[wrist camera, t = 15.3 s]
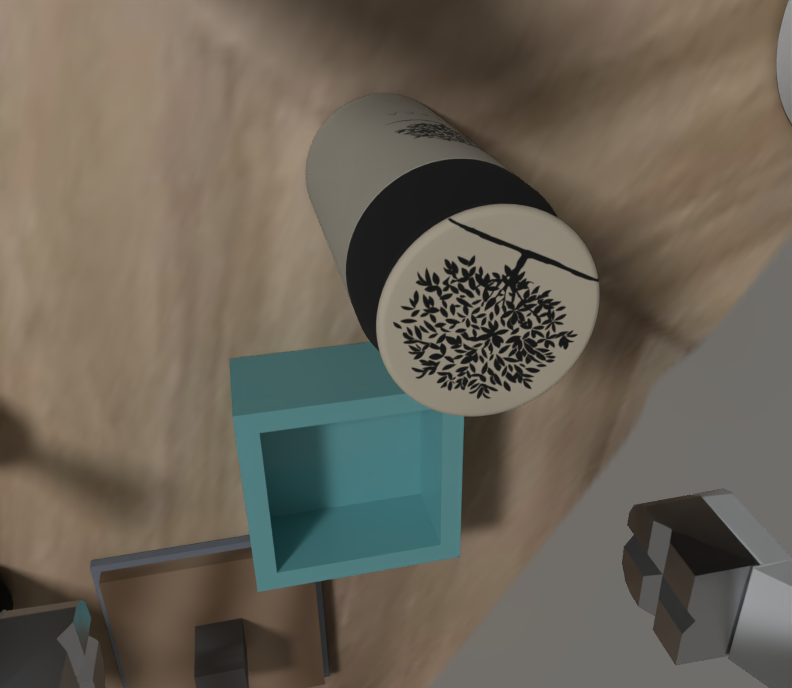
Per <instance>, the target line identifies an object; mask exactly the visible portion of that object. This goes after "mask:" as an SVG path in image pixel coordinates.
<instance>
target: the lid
mask: <svg viewBox="0 0 792 688" xmlns="http://www.w3.org/2000/svg"><path fill="white" fill-rule="evenodd" d="M99 586H100V589H101V593H102V597H103V600H104V604H105V607H106V611H107V615H108V618H109V622H110V625H111V629H112V633H113V636H114V640H115V643H116V647H117V651H118V654H119V658H120V661H121V665H122V669H123V672H124V676H125V679H126V683H127V687H128V688H308V687H313V686H318V685H323V684H325V681H324V670H323V659H322V648H321V637H320V627H319V616H318V605H317V594H316V583H315V582H312V583H307V584H301V585H295V586H290V587H284V588H278V589H272V590H267V591H261V592H258V590H257V583H256V576H255V569H254V562H253V555H252V548H251V547H249V548H243V549H237V550H231V551H225V552H219V553H212V554H206V555H200V556H194V557H188V558H182V559H176V560H170V561H164V562H158V563H152V564H146V565H139V566H133V567H127V568H121V569H115V570H109V571H103V572H101V574H100V580H99Z"/></svg>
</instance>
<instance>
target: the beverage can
mask: <svg viewBox="0 0 792 688" xmlns="http://www.w3.org/2000/svg"><path fill="white" fill-rule="evenodd" d="M9 610H13V600H12V596H11V593H10V591H9V589H8V588H7V586H6V585H5V584H4V582H3V581H1V580H0V613H1V612H5V611H9Z"/></svg>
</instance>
